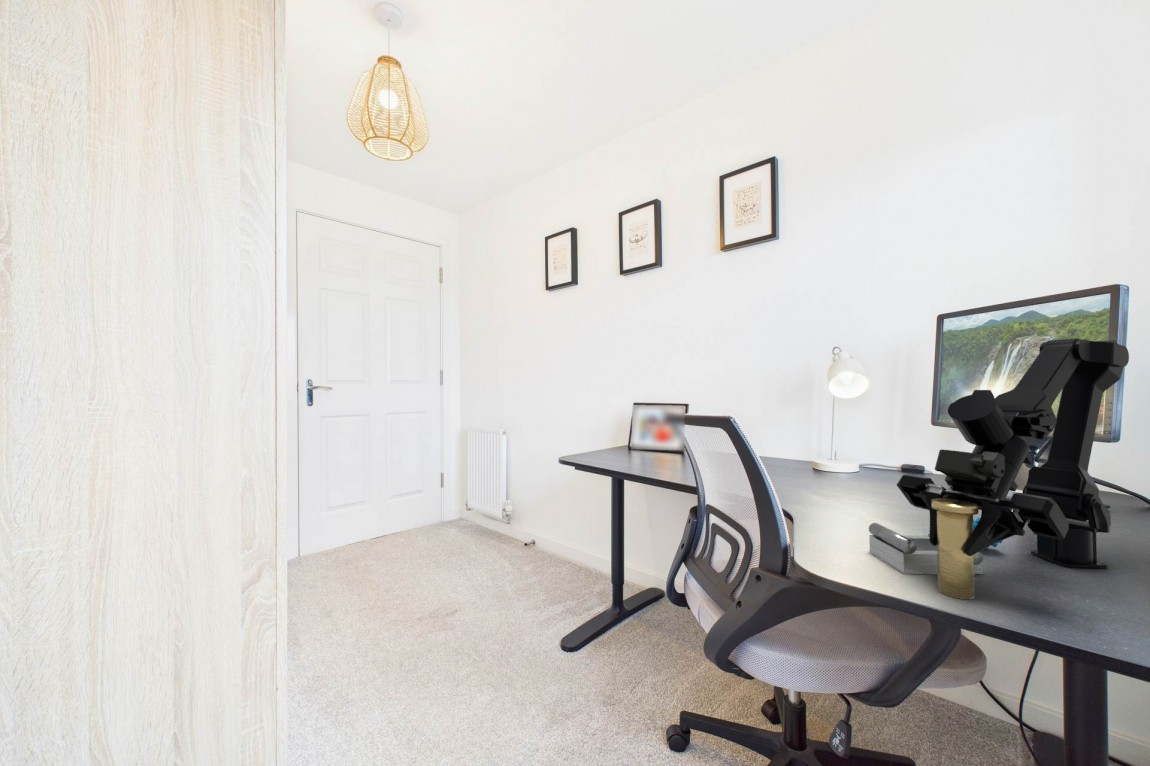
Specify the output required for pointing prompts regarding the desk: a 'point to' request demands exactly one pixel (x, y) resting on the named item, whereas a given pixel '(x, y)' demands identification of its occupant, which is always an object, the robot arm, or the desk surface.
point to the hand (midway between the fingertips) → (949, 548)
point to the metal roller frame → (908, 551)
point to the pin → (954, 547)
